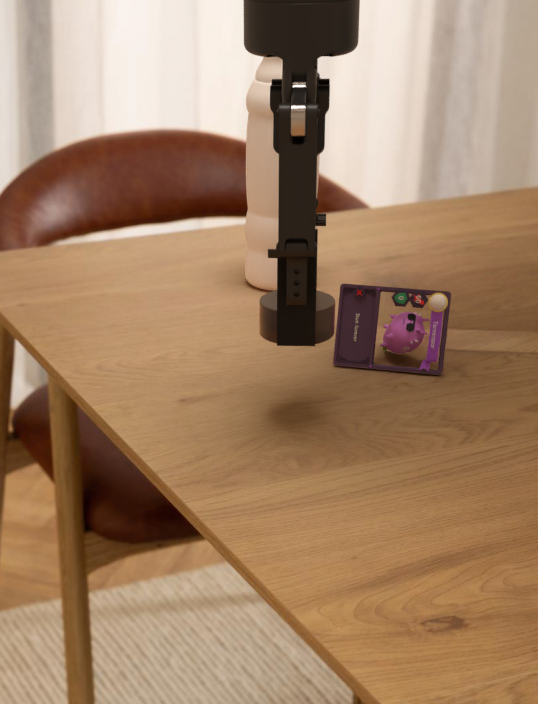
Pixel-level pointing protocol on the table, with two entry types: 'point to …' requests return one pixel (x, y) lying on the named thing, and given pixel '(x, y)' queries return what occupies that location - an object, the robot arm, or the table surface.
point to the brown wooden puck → (323, 316)
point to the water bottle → (262, 179)
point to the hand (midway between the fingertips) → (297, 328)
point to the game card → (389, 327)
